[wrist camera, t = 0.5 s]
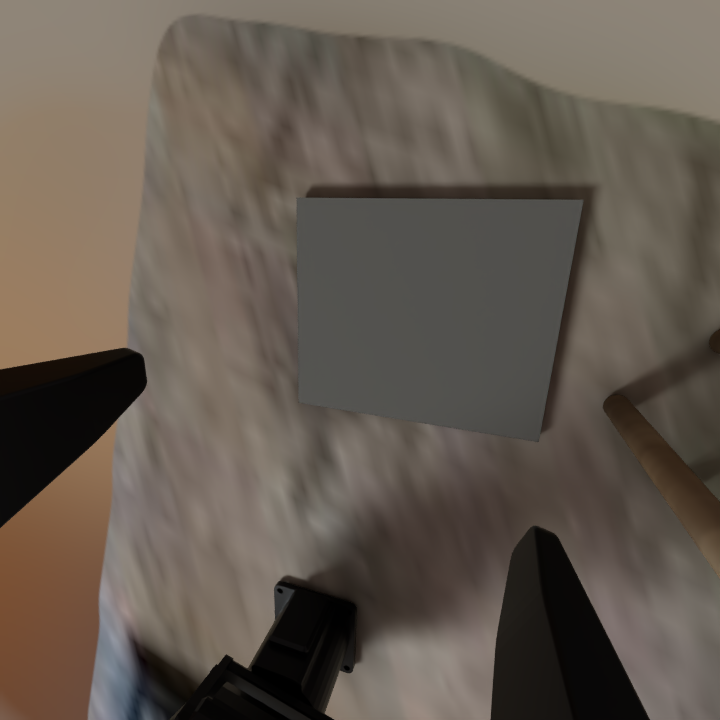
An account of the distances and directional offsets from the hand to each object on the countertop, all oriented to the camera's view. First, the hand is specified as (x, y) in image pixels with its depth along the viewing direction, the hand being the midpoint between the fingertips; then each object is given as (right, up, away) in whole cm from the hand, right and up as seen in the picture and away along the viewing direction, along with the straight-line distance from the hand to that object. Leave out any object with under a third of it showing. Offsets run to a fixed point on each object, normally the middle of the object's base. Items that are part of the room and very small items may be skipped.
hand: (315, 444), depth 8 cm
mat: (+4, +4, +13) cm, 15 cm away
